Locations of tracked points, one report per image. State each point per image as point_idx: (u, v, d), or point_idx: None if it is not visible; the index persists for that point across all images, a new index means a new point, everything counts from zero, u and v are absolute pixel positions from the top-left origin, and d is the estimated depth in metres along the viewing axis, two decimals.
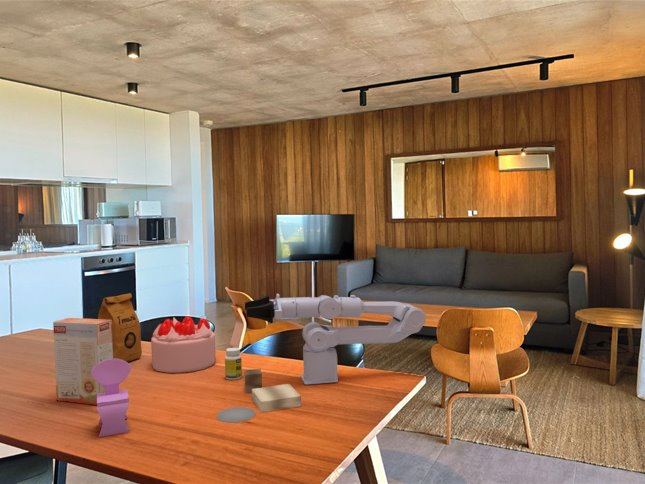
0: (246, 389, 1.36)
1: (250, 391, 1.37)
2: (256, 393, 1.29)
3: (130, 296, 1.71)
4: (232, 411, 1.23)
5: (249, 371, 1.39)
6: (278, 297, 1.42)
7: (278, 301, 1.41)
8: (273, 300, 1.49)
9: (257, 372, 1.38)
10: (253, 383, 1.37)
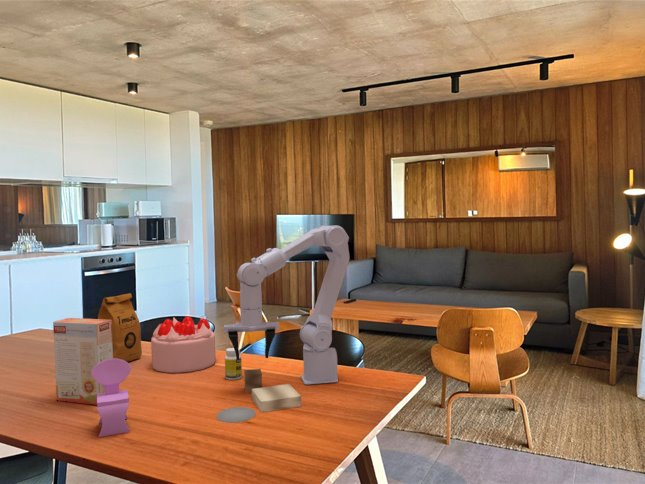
0: (246, 389, 1.36)
1: (250, 391, 1.37)
2: (256, 393, 1.29)
3: (130, 296, 1.71)
4: (232, 411, 1.23)
5: (249, 371, 1.39)
6: (256, 327, 1.35)
7: (260, 326, 1.36)
8: (228, 329, 1.36)
9: (257, 372, 1.38)
10: (253, 383, 1.37)
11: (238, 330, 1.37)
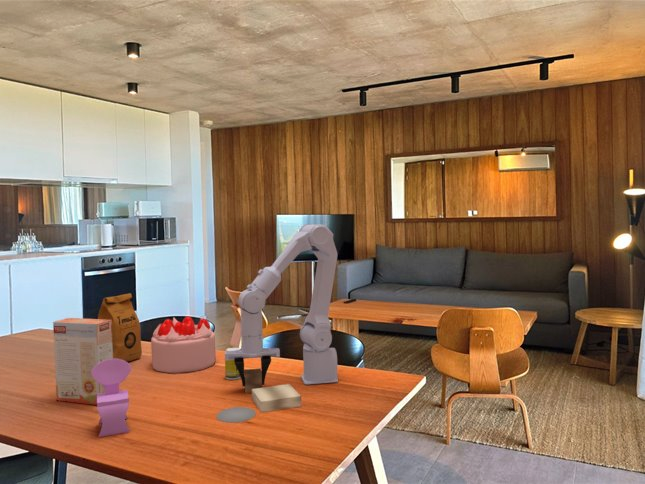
0: (246, 389, 1.36)
1: (250, 391, 1.37)
2: (256, 393, 1.29)
3: (130, 296, 1.71)
4: (232, 411, 1.23)
5: (249, 371, 1.39)
6: (257, 354, 1.35)
7: (261, 353, 1.37)
8: (229, 356, 1.36)
9: (257, 372, 1.38)
10: (253, 383, 1.37)
11: (239, 357, 1.38)
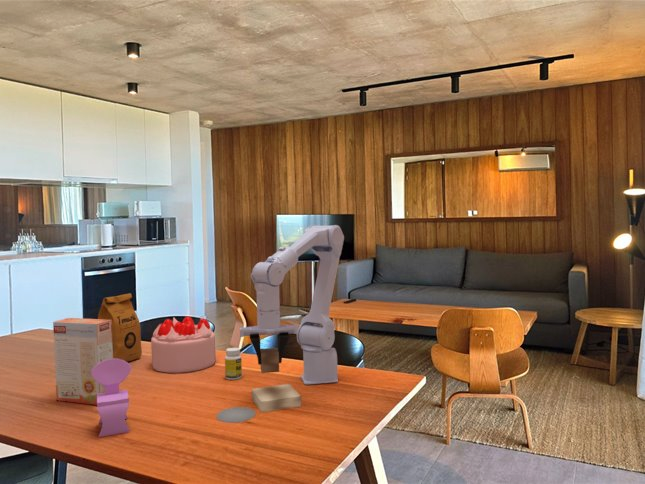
0: (262, 368, 1.29)
1: (266, 371, 1.29)
2: (256, 393, 1.29)
3: (130, 296, 1.71)
4: (232, 411, 1.23)
5: (265, 350, 1.31)
6: (274, 330, 1.27)
7: (278, 329, 1.28)
8: (244, 332, 1.28)
9: (274, 351, 1.30)
10: (270, 362, 1.29)
11: (255, 333, 1.29)
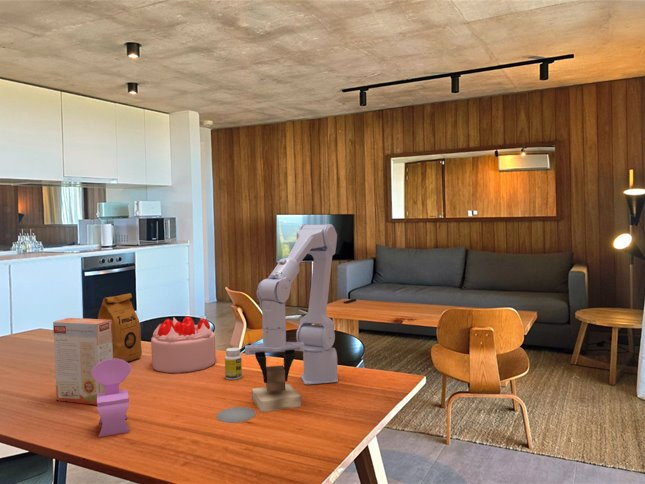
0: (268, 387, 1.27)
1: (272, 389, 1.27)
2: (256, 393, 1.29)
3: (130, 296, 1.71)
4: (232, 411, 1.23)
5: (271, 368, 1.29)
6: (280, 348, 1.25)
7: (284, 347, 1.26)
8: (250, 350, 1.26)
9: (280, 369, 1.28)
10: (276, 381, 1.27)
11: (260, 351, 1.28)
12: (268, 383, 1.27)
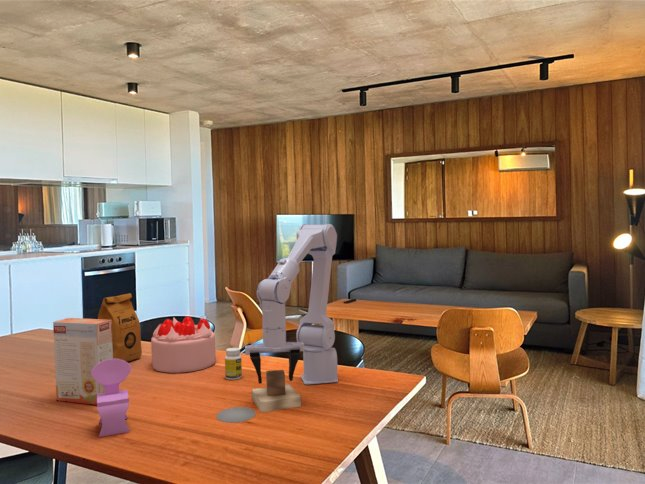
0: (268, 391, 1.27)
1: (272, 394, 1.27)
2: (256, 393, 1.29)
3: (130, 296, 1.71)
4: (233, 411, 1.23)
5: (271, 372, 1.29)
6: (280, 348, 1.25)
7: (284, 347, 1.26)
8: (250, 350, 1.26)
9: (280, 373, 1.28)
10: (276, 385, 1.27)
11: (260, 351, 1.28)
12: (268, 387, 1.27)
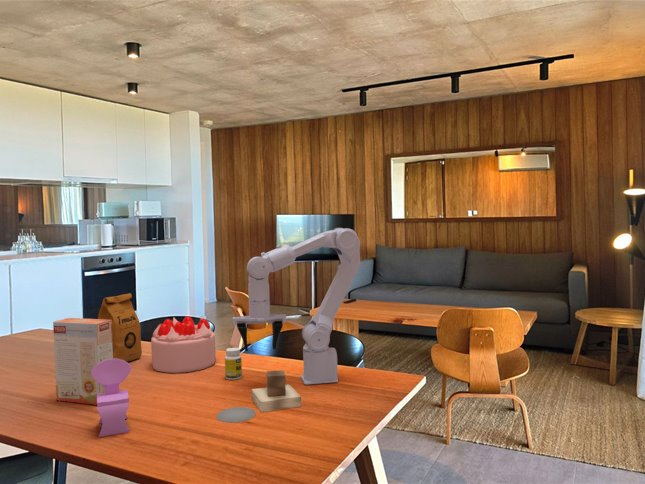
0: (268, 392, 1.26)
1: (273, 394, 1.26)
2: (256, 393, 1.29)
3: (130, 296, 1.71)
4: (233, 411, 1.23)
5: (272, 372, 1.29)
6: (264, 319, 1.39)
7: (268, 318, 1.40)
8: (237, 321, 1.40)
9: (280, 374, 1.28)
10: (276, 386, 1.26)
11: (246, 322, 1.41)
12: (268, 388, 1.26)
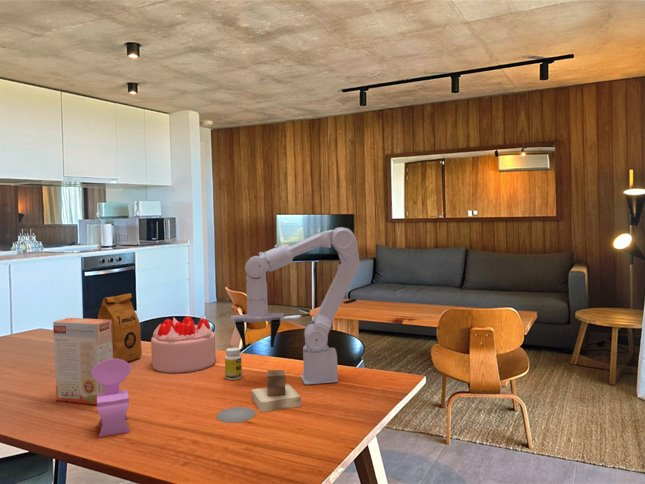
0: (268, 391, 1.27)
1: (272, 394, 1.27)
2: (256, 394, 1.29)
3: (130, 296, 1.71)
4: (233, 411, 1.23)
5: (272, 372, 1.29)
6: (262, 317, 1.41)
7: (266, 317, 1.42)
8: (235, 320, 1.42)
9: (280, 374, 1.28)
10: (276, 385, 1.27)
11: (245, 320, 1.43)
12: (268, 387, 1.27)
